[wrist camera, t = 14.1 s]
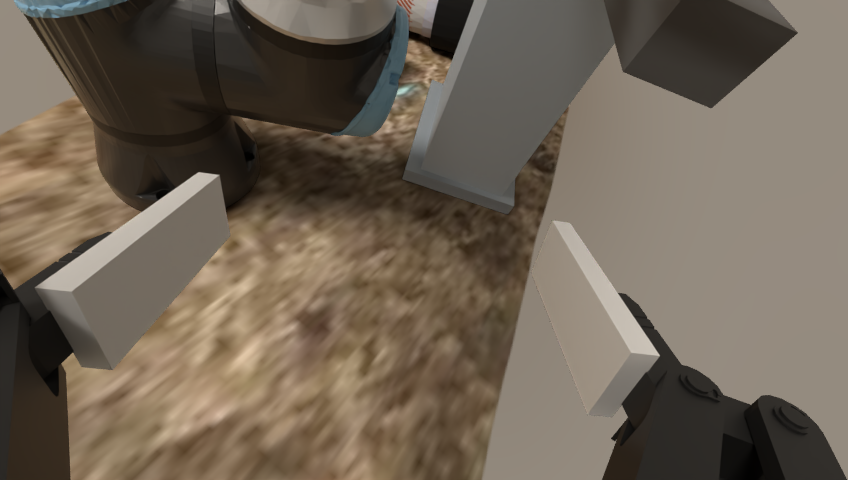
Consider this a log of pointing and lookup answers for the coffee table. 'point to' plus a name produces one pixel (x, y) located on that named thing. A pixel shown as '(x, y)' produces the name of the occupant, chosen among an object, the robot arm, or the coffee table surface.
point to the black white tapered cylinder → (438, 20)
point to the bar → (696, 42)
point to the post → (505, 94)
